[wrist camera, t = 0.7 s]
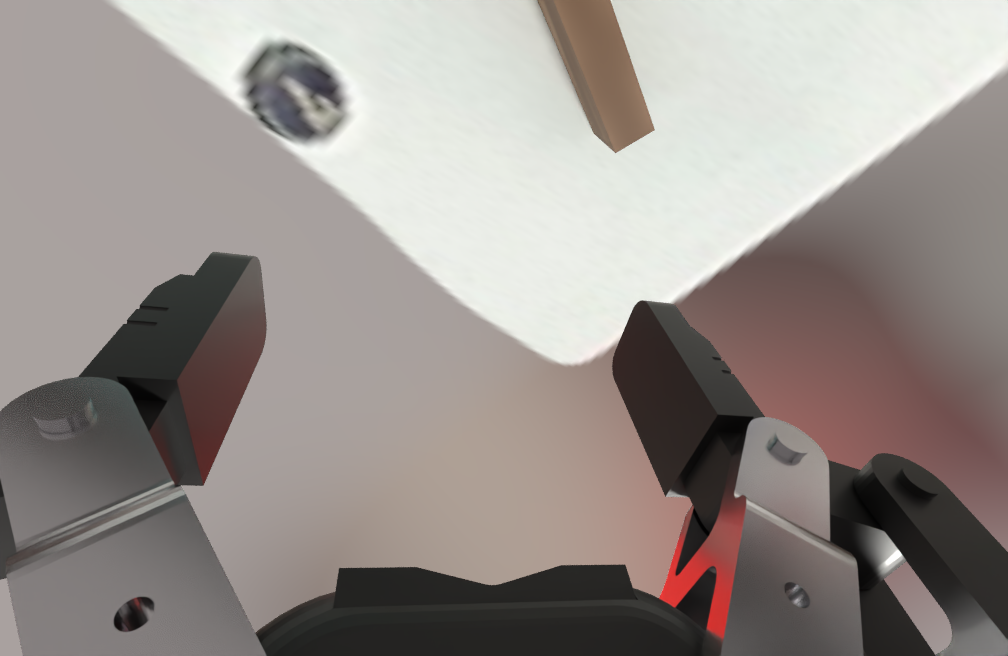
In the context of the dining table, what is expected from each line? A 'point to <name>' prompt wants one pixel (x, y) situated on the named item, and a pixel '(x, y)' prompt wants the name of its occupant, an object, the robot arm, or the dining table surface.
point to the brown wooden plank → (599, 69)
